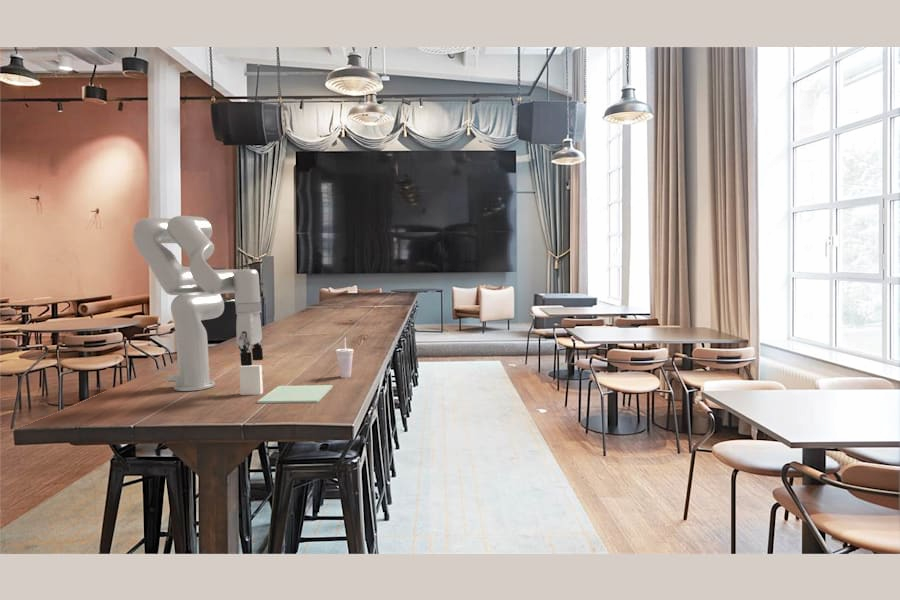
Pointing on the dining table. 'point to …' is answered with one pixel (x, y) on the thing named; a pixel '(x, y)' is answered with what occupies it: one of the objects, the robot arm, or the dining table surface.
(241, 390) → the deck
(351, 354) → the smoothie
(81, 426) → the dining table surface
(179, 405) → the dining table surface
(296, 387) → the mat
